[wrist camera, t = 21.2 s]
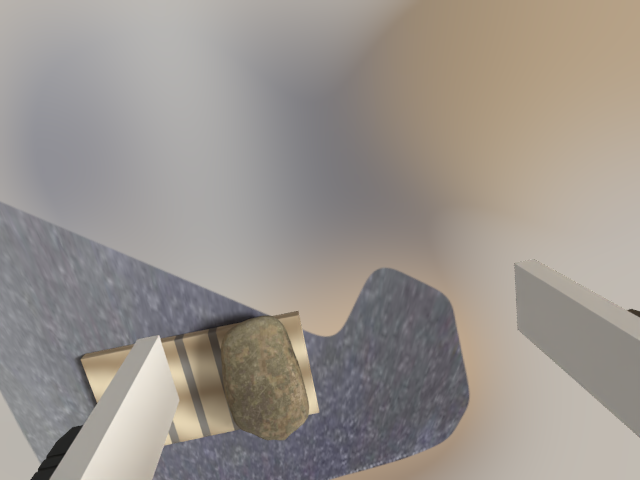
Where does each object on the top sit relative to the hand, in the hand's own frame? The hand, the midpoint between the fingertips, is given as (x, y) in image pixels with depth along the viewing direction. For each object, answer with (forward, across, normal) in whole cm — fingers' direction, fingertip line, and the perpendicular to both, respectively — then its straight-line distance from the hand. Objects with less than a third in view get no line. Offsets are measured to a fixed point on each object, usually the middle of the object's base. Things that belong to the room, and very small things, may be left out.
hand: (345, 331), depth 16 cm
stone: (+34, -8, -20) cm, 40 cm away
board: (+35, -16, -22) cm, 44 cm away
